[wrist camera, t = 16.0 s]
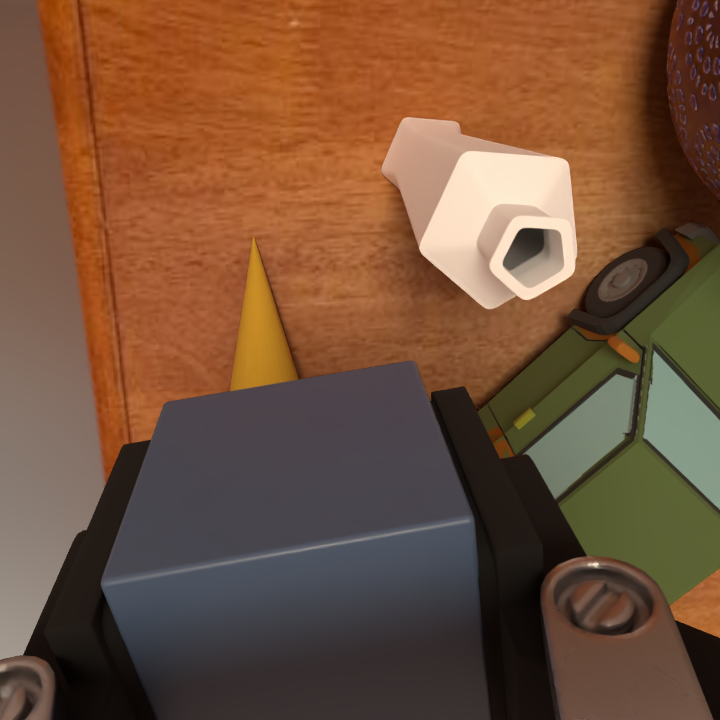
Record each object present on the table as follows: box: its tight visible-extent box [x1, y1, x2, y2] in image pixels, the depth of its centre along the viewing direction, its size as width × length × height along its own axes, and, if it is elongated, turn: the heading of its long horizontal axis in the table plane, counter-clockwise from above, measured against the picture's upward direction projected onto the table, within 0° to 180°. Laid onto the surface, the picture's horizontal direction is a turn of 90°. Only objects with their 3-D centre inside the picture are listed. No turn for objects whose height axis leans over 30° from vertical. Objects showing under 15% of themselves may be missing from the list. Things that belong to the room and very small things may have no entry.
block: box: [101, 361, 491, 720], centre depth 10 cm, size 4×4×4 cm
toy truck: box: [477, 222, 720, 605], centre depth 32 cm, size 11×21×10 cm, turn 136°
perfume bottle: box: [381, 117, 577, 309], centre depth 23 cm, size 5×4×15 cm
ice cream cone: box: [230, 235, 299, 391], centre depth 33 cm, size 6×6×20 cm
